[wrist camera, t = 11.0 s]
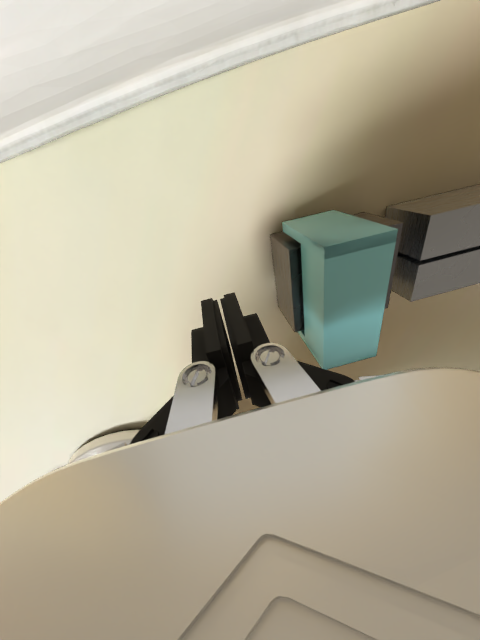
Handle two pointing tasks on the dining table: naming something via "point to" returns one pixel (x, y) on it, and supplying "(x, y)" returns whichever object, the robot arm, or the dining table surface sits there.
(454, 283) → the bar
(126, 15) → the square plate
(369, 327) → the teal rectangular block
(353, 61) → the dining table surface
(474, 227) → the tongs frame
